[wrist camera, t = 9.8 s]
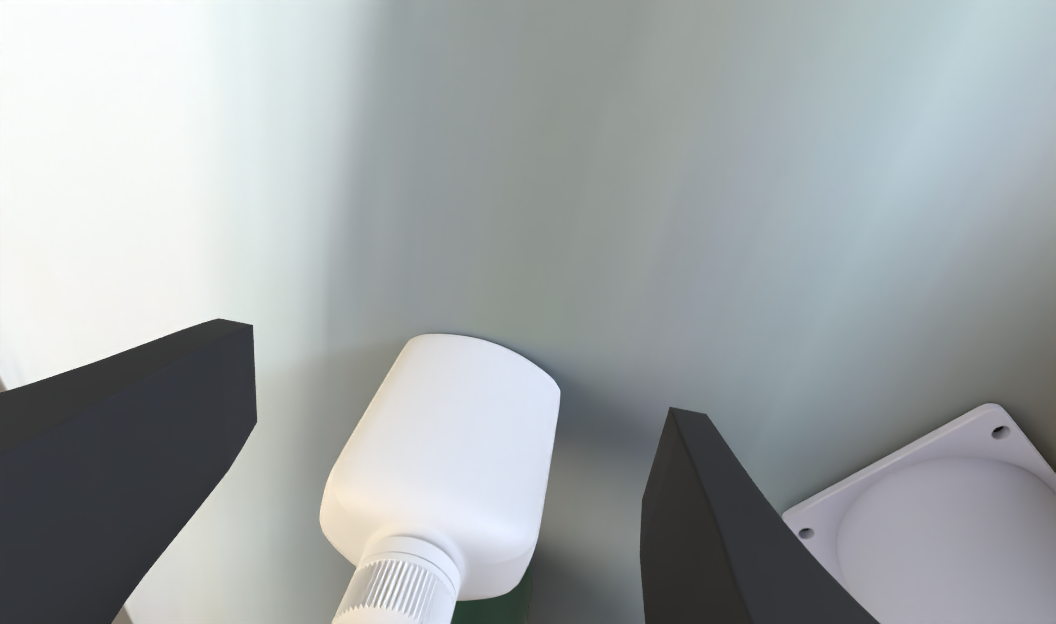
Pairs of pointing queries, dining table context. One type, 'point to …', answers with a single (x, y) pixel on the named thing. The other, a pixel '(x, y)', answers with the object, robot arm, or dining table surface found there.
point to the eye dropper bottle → (442, 481)
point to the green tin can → (497, 606)
